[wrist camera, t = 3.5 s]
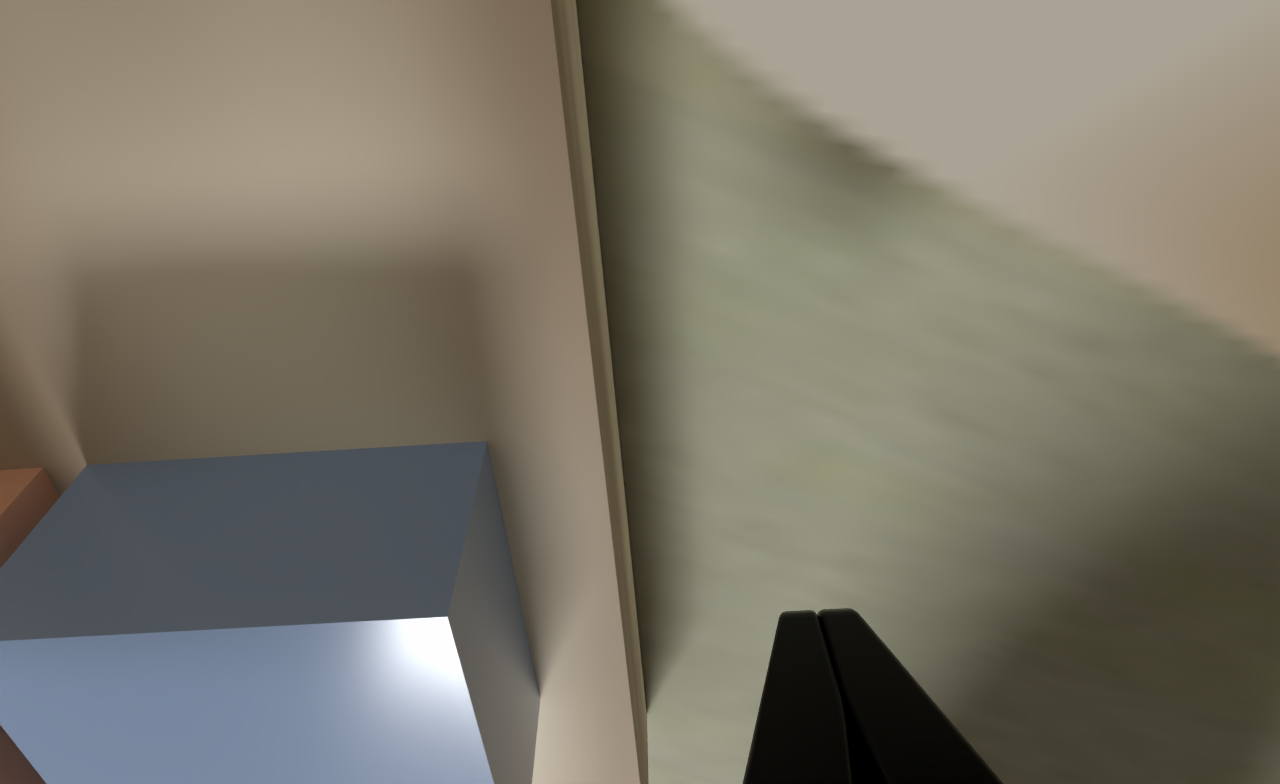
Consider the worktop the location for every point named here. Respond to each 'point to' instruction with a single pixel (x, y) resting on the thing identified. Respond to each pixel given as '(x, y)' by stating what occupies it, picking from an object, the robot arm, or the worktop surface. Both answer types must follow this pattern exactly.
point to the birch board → (331, 278)
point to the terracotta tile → (3, 519)
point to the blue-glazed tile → (272, 624)
